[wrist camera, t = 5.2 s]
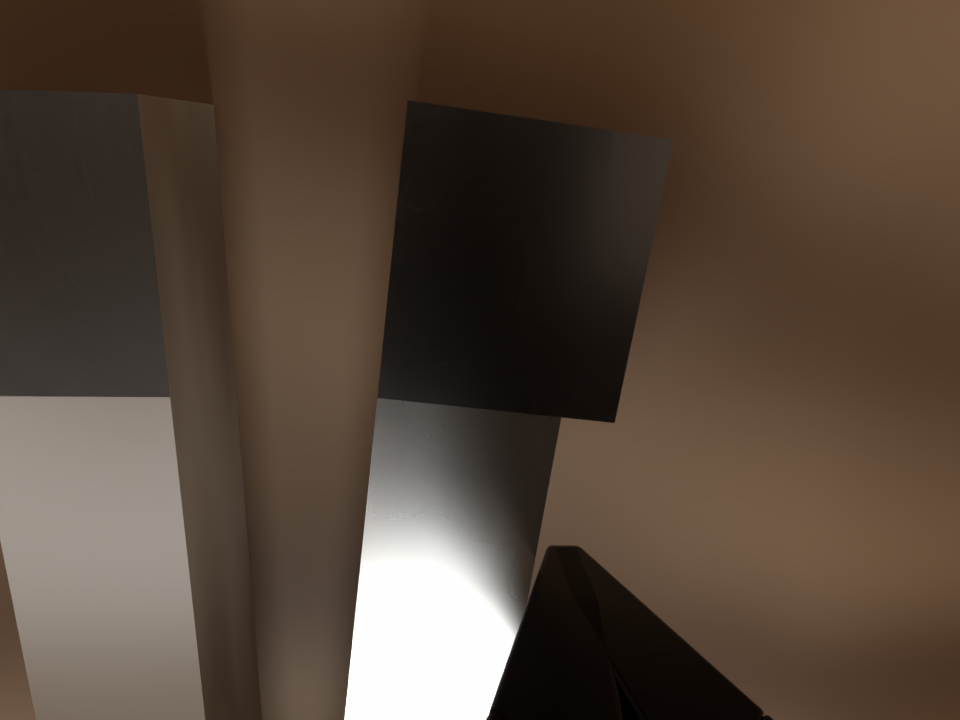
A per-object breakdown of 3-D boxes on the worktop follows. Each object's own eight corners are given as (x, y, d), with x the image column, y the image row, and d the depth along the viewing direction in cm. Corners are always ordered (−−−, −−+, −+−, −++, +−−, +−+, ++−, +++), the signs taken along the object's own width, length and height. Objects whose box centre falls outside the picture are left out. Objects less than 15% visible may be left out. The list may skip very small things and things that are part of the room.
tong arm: (470, 911, 13) (478, 1074, 11) (331, 907, 13) (309, 1071, 11) (613, 139, 9) (674, 140, 7) (413, 109, 9) (407, 99, 7)
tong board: (889, 1047, 17) (996, 1259, 14) (-66, 1105, 16) (-196, 1360, 12) (1298, -260, 9) (1764, -473, 6) (-548, -404, 8) (-1262, -798, 4)
